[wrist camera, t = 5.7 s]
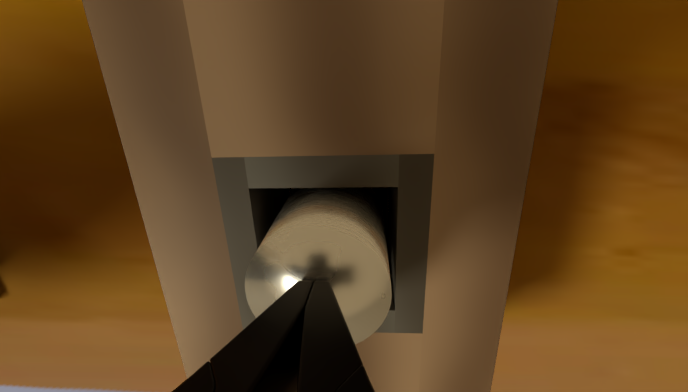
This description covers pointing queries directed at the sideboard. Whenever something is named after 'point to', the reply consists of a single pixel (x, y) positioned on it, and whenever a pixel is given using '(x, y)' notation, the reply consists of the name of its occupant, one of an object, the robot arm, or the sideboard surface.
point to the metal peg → (327, 254)
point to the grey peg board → (333, 154)
